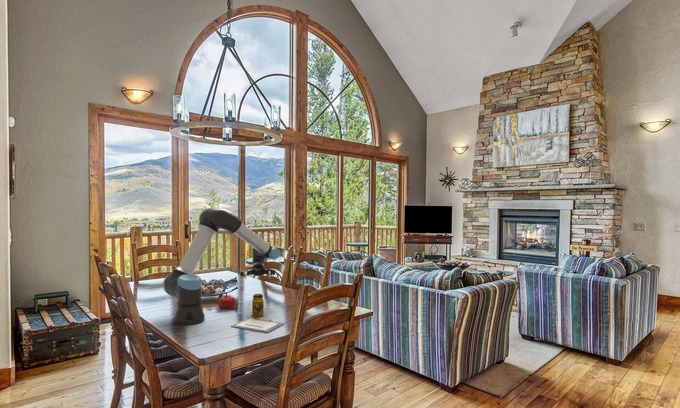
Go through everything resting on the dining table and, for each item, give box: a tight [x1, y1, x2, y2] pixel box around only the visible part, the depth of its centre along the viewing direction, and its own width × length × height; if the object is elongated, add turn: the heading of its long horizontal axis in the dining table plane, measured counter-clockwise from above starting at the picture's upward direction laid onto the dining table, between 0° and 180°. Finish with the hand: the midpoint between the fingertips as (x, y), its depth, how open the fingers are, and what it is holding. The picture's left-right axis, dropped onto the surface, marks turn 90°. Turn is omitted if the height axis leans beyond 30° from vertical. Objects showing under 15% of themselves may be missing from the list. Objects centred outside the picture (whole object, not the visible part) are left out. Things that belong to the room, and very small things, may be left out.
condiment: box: [247, 293, 268, 319], centre depth 214 cm, size 7×8×12 cm
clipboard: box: [230, 317, 285, 334], centre depth 198 cm, size 22×15×2 cm
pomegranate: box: [217, 292, 237, 310], centre depth 228 cm, size 10×10×9 cm
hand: (257, 275), depth 223 cm, fingers open, 13 cm apart
